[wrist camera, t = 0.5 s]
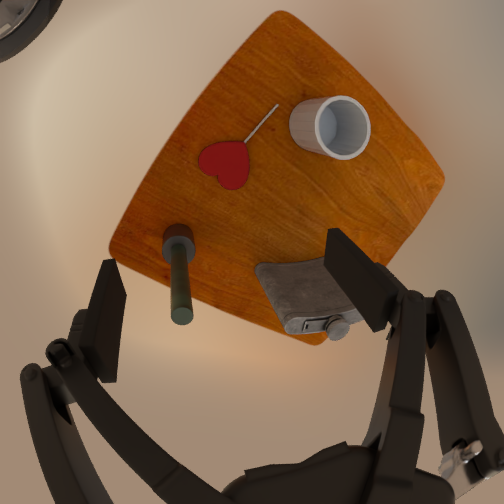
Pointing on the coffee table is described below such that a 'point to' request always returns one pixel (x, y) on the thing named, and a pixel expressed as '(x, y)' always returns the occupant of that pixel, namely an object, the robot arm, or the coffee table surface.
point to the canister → (331, 126)
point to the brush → (179, 270)
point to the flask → (307, 298)
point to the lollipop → (228, 161)
